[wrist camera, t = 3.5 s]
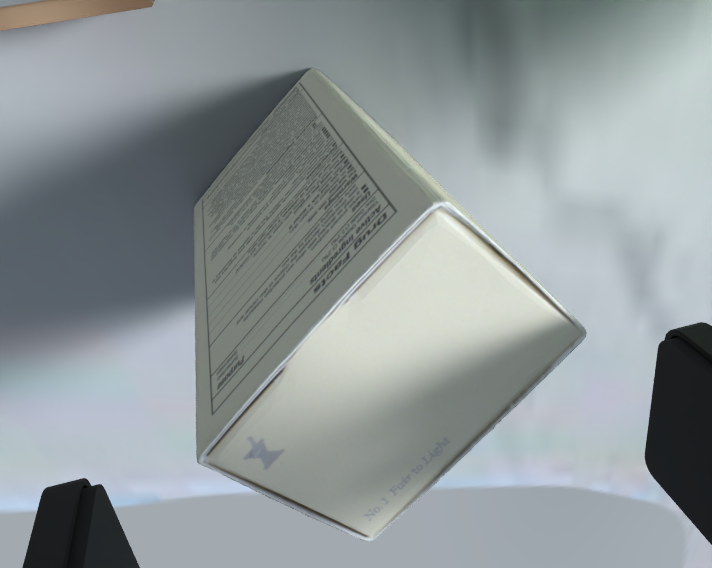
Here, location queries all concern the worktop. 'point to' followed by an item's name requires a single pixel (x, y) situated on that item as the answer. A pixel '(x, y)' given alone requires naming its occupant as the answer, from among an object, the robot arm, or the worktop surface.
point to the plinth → (60, 10)
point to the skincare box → (353, 318)
